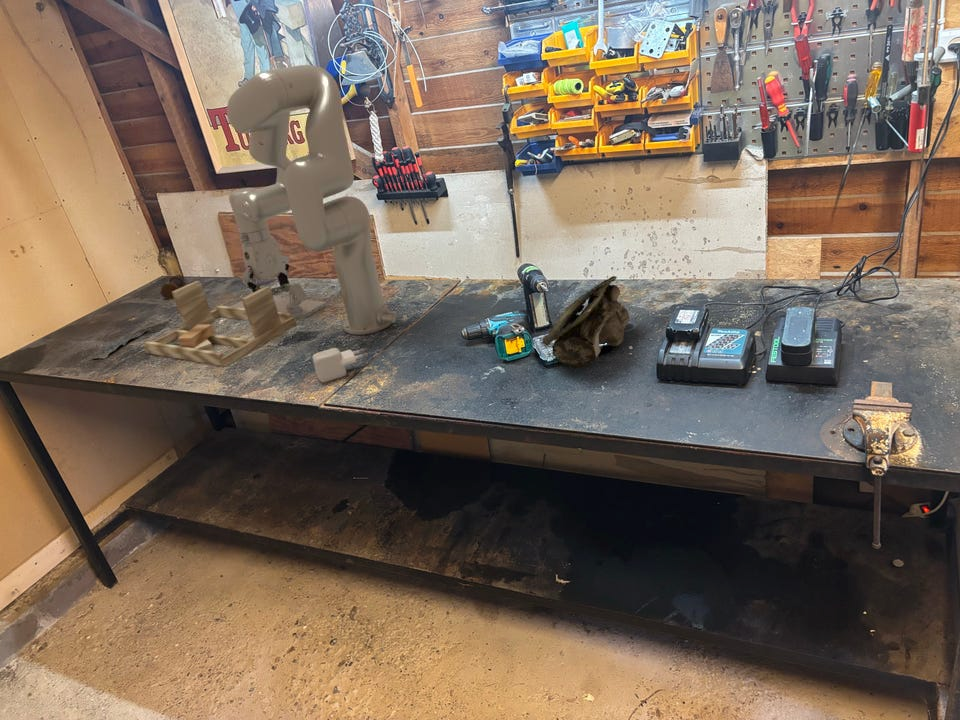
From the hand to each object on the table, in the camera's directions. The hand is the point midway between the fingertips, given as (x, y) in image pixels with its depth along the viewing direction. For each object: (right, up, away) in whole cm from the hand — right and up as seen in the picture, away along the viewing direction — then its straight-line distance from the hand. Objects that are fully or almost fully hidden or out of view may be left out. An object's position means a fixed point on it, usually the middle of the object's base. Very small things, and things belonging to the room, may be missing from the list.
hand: (273, 295), depth 178 cm
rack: (-9, -12, -13) cm, 20 cm away
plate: (0, -3, +2) cm, 4 cm away
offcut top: (-13, -13, -19) cm, 27 cm away
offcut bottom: (-12, -16, -18) cm, 27 cm away
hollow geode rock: (+80, -16, -46) cm, 94 cm away
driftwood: (-38, -14, -6) cm, 41 cm away
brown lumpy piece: (-41, +4, +30) cm, 51 cm away
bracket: (0, -3, +1) cm, 3 cm away
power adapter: (+29, -21, -41) cm, 54 cm away
